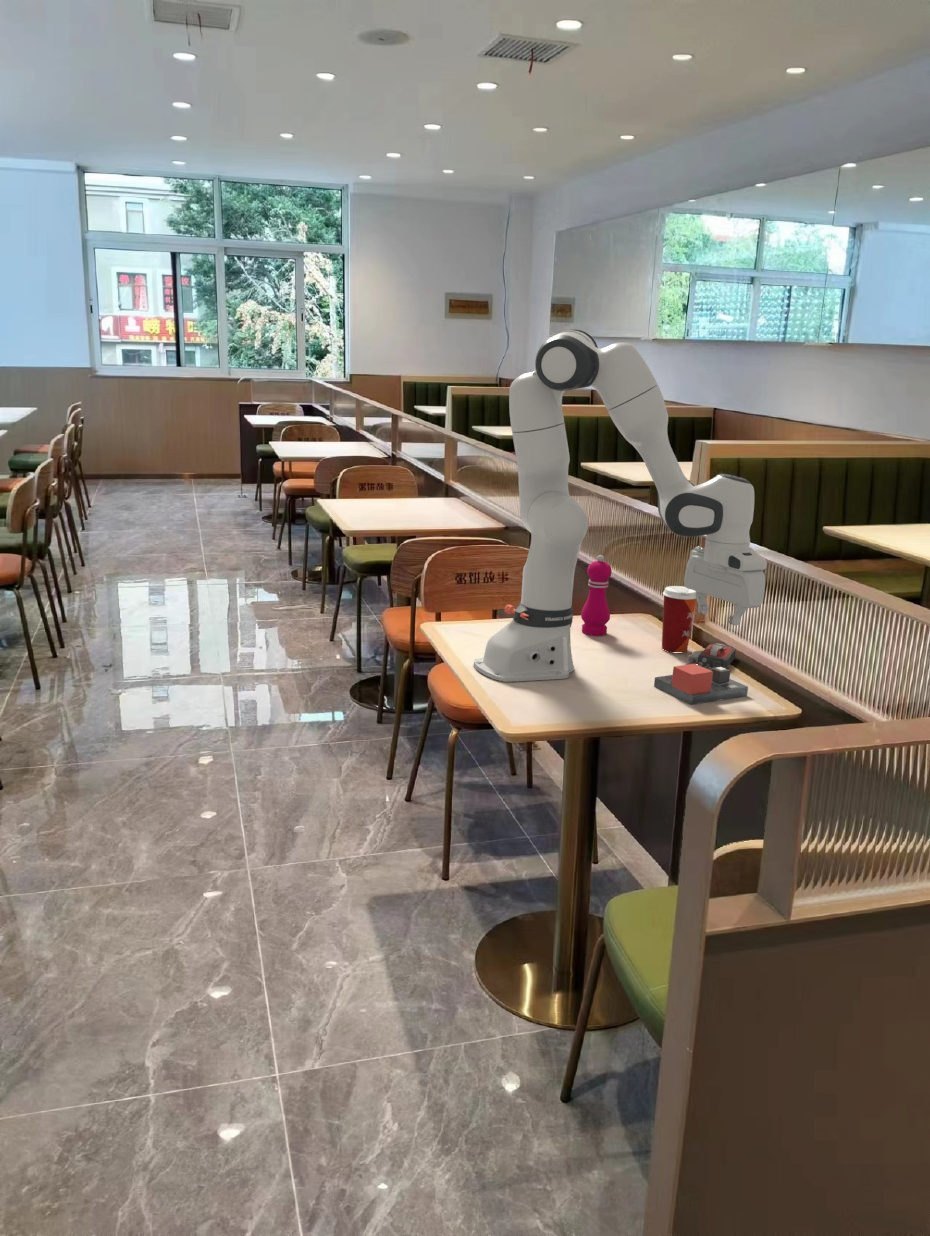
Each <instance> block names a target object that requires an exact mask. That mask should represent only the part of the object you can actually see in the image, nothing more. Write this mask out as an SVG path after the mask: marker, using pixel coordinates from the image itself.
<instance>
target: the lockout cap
mask: <svg viewBox="0 0 930 1236" xmlns="http://www.w3.org/2000/svg"><path fill="white" fill-rule="evenodd" d="M710 670H711V669H708V668H707V667H704V666H699V665H696V664H688V665H686V664H684V665H683V664H682V665H681V664H680V665H674V666H673V669H672V675H673V676H672V685H671V686H673V687H675V688H677V689H679V690H681V691H683V692H686V693H688V694H696V693H702V692H709V691H711V684H712V676H713V671H710Z"/></svg>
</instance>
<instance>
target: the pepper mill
mask: <svg viewBox="0 0 930 1236" xmlns="http://www.w3.org/2000/svg"><path fill="white" fill-rule="evenodd" d="M604 560H605V557H604V555H603V554H599V555H597V557H596V561H593V562H591V563H590V564H589V565H588V567H587V570H586V572H587V573H586V574H587V576H588V577H589V579H588V584H587V585H588V586H589V592H588V597H587V600H586V602H585V603H584V605H583V607H582V610H581V614H580V617H581V619H582V622H583V624H582V625H581V633H583V634H584V635H588V636H593V637H601V636H605V635H606V634H608V633H607V632H608V626H607V625H606V624H607V623H608V622H609V621H610V619H611V611H610V607H609V606H608V601H607V596H606V593H607V592H606V591H607V588H608V587H609V579H610V578H611V576H612V567H611V565H610V564H609V563H608V562H606V561H604Z"/></svg>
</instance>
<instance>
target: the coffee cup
mask: <svg viewBox="0 0 930 1236" xmlns="http://www.w3.org/2000/svg"><path fill="white" fill-rule="evenodd" d="M662 595H663V610H662V611H663V613H662V628H661V629H662V631H661V649H664V650H666V651H668V652H667V653H670V652H685V653H687V652H686V651H688V648H689V641H690V637H691V631H692V626H693V620H694V615H695V610H696V609H695V607H696V602H697V599H696V596H695V595H696V591H694V590H692V589H689V588H686V587H685V586H680V585H669V586H666V587H665V589H664V591H663V592H662ZM664 650H663V651H664ZM666 651H665V652H666Z"/></svg>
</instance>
